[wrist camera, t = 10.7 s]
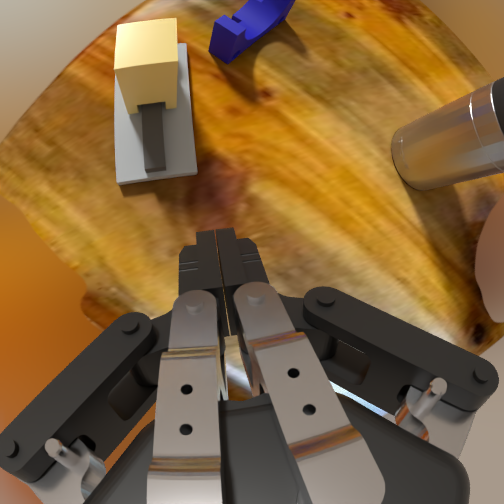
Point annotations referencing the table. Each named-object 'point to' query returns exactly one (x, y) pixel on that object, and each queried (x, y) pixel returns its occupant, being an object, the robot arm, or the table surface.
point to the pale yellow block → (147, 63)
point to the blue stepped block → (246, 27)
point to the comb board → (172, 133)
